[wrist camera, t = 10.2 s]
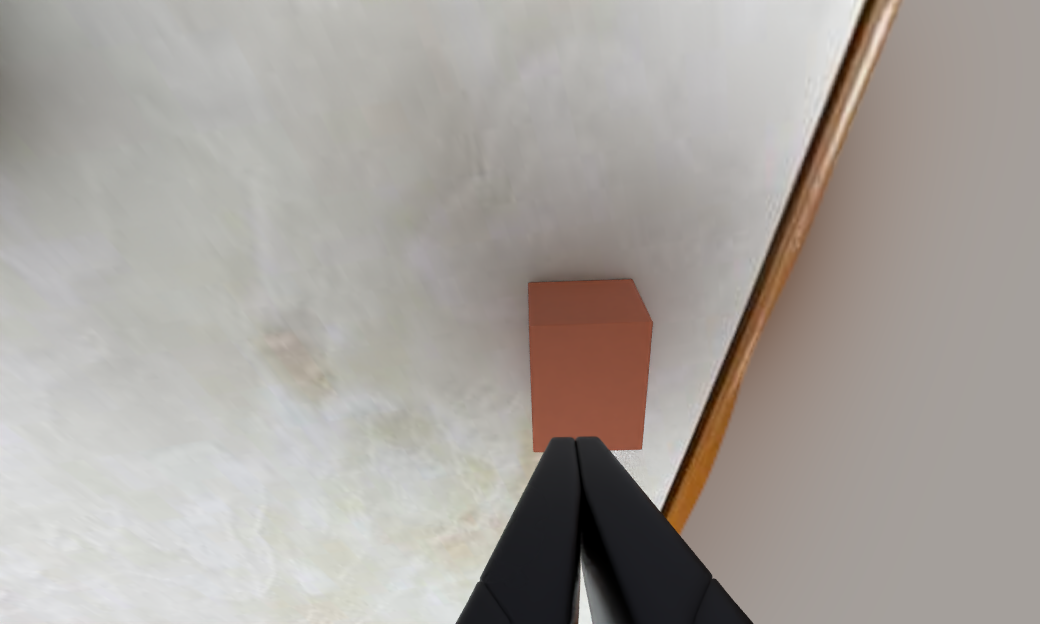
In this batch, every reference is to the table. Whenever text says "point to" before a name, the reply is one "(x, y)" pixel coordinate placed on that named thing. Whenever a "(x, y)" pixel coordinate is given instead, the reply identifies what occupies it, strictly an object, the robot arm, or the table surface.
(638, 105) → the table surface
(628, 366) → the reddish brown block
